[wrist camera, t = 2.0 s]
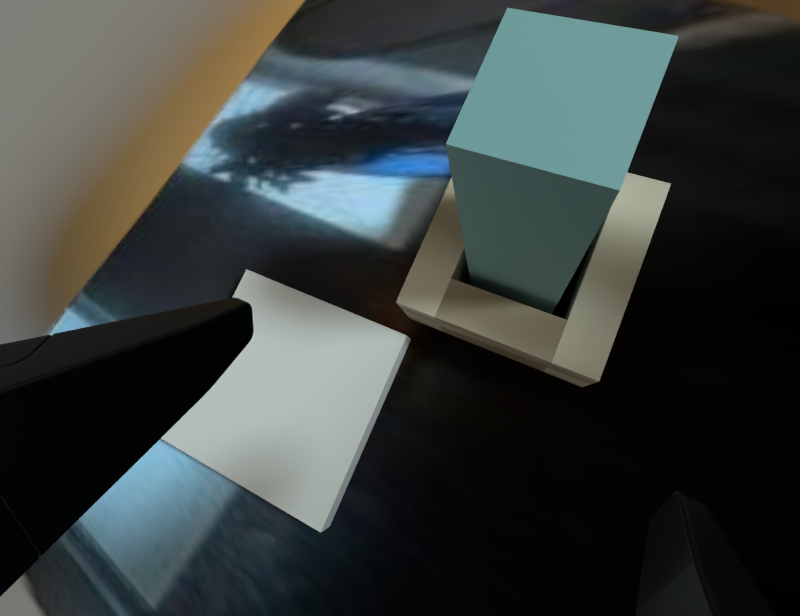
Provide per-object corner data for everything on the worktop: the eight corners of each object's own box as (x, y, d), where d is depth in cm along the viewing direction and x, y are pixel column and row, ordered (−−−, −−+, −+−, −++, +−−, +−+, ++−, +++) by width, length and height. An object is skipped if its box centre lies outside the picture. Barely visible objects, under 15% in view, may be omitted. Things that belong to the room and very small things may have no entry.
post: (548, 319, 22) (619, 190, 9) (472, 292, 23) (445, 144, 10) (576, 248, 22) (678, 35, 10) (500, 224, 23) (507, 7, 11)
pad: (329, 526, 21) (320, 532, 20) (176, 437, 24) (161, 438, 23) (411, 339, 23) (406, 335, 22) (257, 275, 26) (246, 269, 24)
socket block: (582, 387, 21) (599, 381, 17) (410, 318, 23) (396, 301, 20) (644, 219, 22) (670, 183, 18) (474, 171, 24) (471, 132, 21)
